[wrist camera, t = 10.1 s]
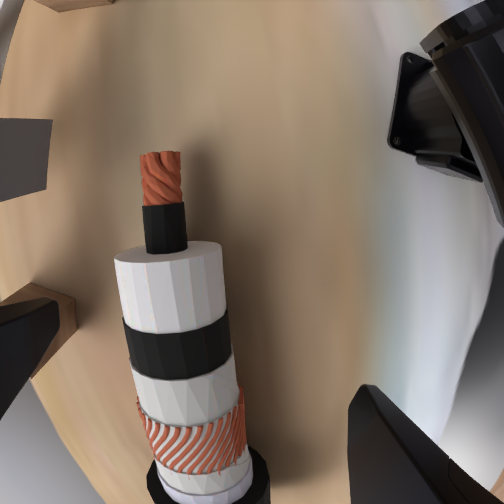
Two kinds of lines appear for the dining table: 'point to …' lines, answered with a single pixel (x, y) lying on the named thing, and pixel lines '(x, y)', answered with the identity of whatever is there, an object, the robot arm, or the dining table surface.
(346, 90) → the dining table surface
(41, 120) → the grey u-channel block
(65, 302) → the arch bridge
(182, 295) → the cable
